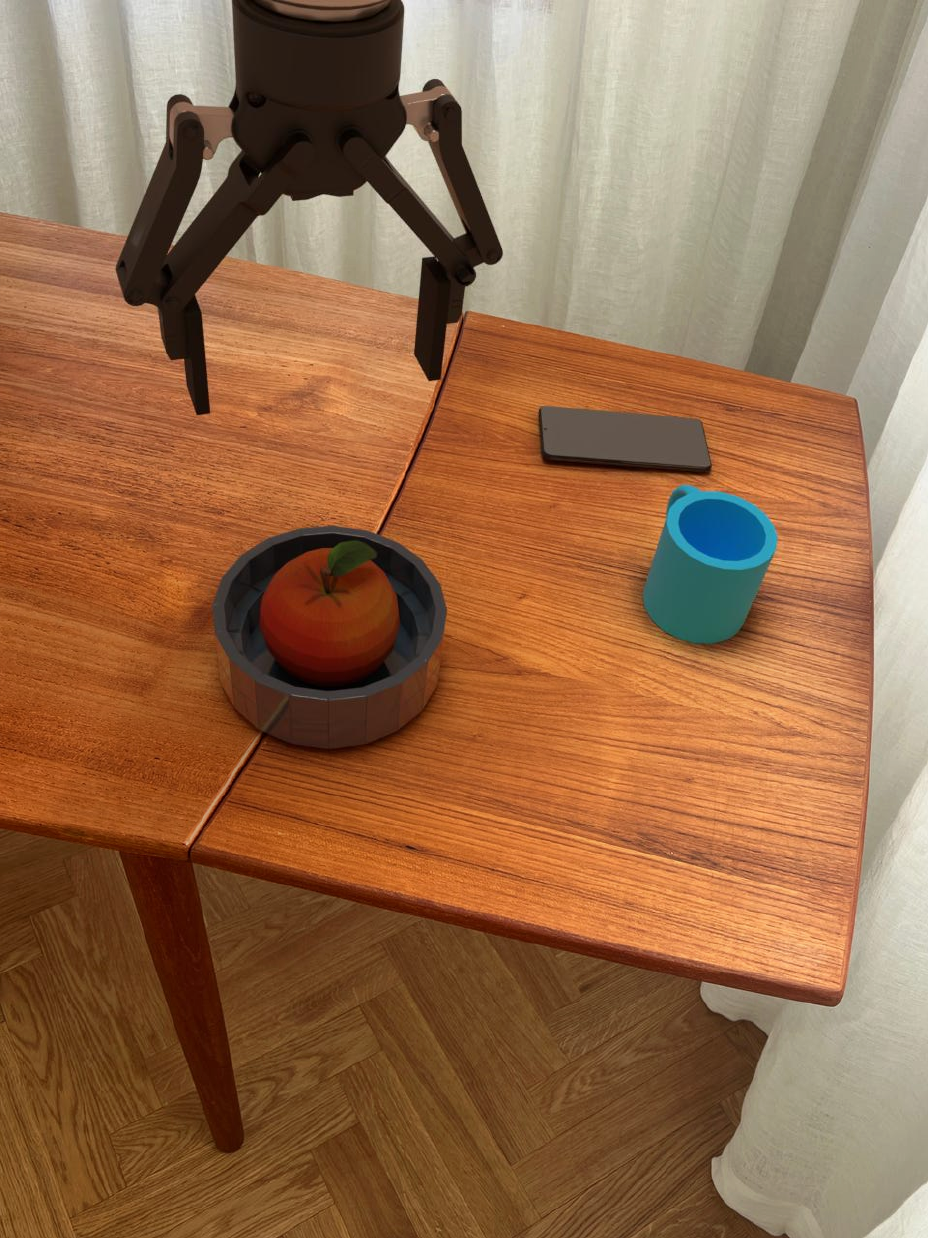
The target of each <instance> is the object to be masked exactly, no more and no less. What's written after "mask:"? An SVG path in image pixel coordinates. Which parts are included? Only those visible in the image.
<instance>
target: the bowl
mask: <svg viewBox="0 0 928 1238" xmlns="http://www.w3.org/2000/svg"><path fill="white" fill-rule="evenodd" d="M354 540H358V541H360V542H363V543H366V544H367V545H368V546H370V547H371V548H372V549H374V550H375V551H376V552H377V557H376V558H374V559H371V561H372V562H374V563H375V564H376V565H377V566H378V567H379V568H380V569H381V570H382V571H383V572H384V573H385V575H386V577H387V578H388V580H389V582H390V584H391V586H392V588H393V589H394V591H395V593H396V595H397V602H398V610H399V618H400V626H399V630H398V633H397V637H396V640H395V644H394V647H393V650H392V652H391V653H390V655H389V656H388V657H387V658H386V659H385V661H384V662H383V663H382V664H381V666H380V667H379V668H378V669H377V670H376V671H375V672H374V673H372V674H371V675H369V676H367V677H366V678H364V679H363V680H361V681H358V682H354V683H351V684H348V685H344V686H325V687H324V686H319V685H315V684H310V683H306V682H304V681H302V680H300V679H298V678H296V677H294V676H293V675H291V674H289V673H288V672H287V671H286V670H285V669H284V668H283V667H282V666H281V665H280V664H279V663H278V662H277V661H276V659H275V658H274V657H273V656H272V655H271V654H270V652H269V650H268V648H267V645H266V643H265V640H264V638H263V635H262V632H261V629H260V625H259V623H260V610H261V601H262V596H263V594H264V593H265V591H266V589H267V587H268V585H269V584H270V582H271V580H272V579H273V577H274V575H275V574H276V573H277V572H278V571H279V570H280V569H281V568H282V567H283V566H284V565H285V564H286V563H288V562H290V561H291V560H293V559H295V558H297V557H298V556H300V555H302V554H304V553H306V552H308V551H313V550H317V549H321V548H334V547H335V546H337V545H338V544H339V543H341V542H348V541H354ZM211 607H212V609H211V610H212V618H213V628H214V630H213V631H214V638H215V646H216V655H217V656H216V657H217V664H218V674H219V681H220V685H221V686H222V688H223V690H224V692H225V694H226V696H227V698H228V700H229V701H230V703H231V705H232V706H233V708H234V710H236V711H237V712H238V713H239V714H240V715H241V716H243V717H244V718H245V719H246V720H247V721H248V722H249V723H250V724H252V726H254V727H255V728H256V729H257V730H259V731H261V732H263V733H265V734H267V735H270V736H272V737H274V738H277V739H279V740H282V741H284V742H285V743H289V744H292V745H296V746H304V747H311V748H317V749H318V748H319V749H324V750H325V749H338V748H339V749H340V748H345V747H346V748H347V747H354V746H355V747H356V746H363V745H367V744H369V743H372V742H374V741H377V740H380V739H381V738H384V737H387V736H390V735H391V734H393V733H396V732H398V731H399V730H401V728H403V727H404V726H405V725H407V724H408V723H409V722H410V721H411V720H412V719H414V718H415V717H416V716H417V715H419V714H420V713H421V712H422V711H423V710H424V708H425V706H426V705H427V704H428V702H429V700H430V698H431V697H432V694H433V693H434V691H435V690H436V688H437V686H438V682H439V677H440V669H441V662H442V656H443V647H444V639H445V632H446V631H445V630H446V623H447V615H448V607H447V604H446V600H445V595H444V593H443V588H442V585H441V583H440V581H439V580H438V579H437V577H436V576H435V575H434V573H433V572H432V570H431V569H430V568H429V566H428V565H427V563H425V561H424V560H423V559H422V558H421V557H420V556H418V555H416V554H415V553H414V552H412V551H411V550H410V549H408V548H407V547H406V546H404V545H403V544H402V543H400V542H398V541H396V540H394V539H391V538H388V537H386V536H383V535H381V534H378V533H375V532H373V531H370V530H366V529H360V528H355V527H354V528H353V527H347V526H346V527H345V526H339V525H324V526H322V525H321V526H311V527H300V528H295V529H292V530H289V531H286V532H282V533H280V534H277V535H273V536H270V537H268V538H266V539H264V540H262V541H261V542H260V543H258V544H256V545H254V546H253V547H251V548H250V549H248V550H246V551H245V552H243V553H242V554H240V556H239V557H238V558H237V559H236V560H235V561H234V562H233V564H232V565H231V566H230V567H229V568H228V570H227V571H226V572H225V573H224V575H222V577H221V579H220V581H219V584H218V587H217V590H216V593H215V596H214V598H213V602H212V606H211Z"/></svg>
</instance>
